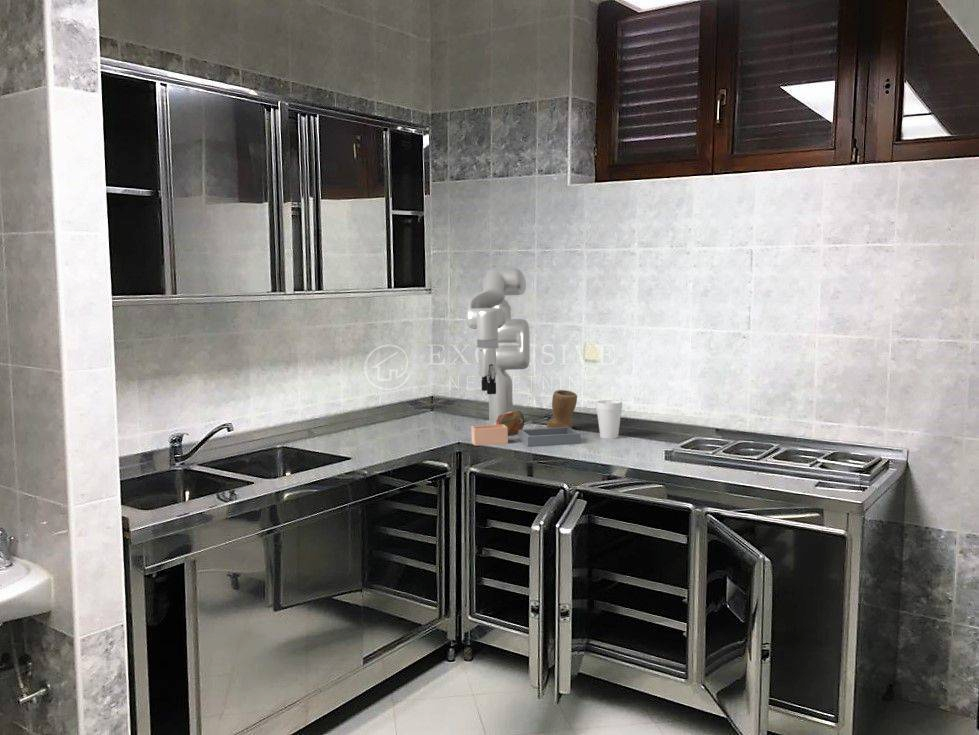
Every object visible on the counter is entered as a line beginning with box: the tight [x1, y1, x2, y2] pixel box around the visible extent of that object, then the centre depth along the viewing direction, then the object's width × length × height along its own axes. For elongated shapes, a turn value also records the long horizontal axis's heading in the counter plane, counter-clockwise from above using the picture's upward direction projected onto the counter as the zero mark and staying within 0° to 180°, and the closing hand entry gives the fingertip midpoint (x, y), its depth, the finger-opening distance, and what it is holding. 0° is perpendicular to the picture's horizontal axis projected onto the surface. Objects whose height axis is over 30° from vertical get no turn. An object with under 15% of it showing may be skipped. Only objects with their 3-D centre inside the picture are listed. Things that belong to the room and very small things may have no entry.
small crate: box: [470, 424, 509, 446], centre depth 310 cm, size 6×12×6 cm, turn 101°
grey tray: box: [517, 427, 582, 448], centre depth 310 cm, size 14×19×4 cm
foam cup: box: [595, 399, 623, 440], centre depth 315 cm, size 10×9×13 cm
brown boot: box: [546, 389, 578, 428], centre depth 335 cm, size 15×12×15 cm
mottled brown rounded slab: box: [496, 410, 525, 437], centre depth 327 cm, size 15×3×8 cm, turn 143°
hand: (488, 392), depth 308 cm, fingers open, 9 cm apart
